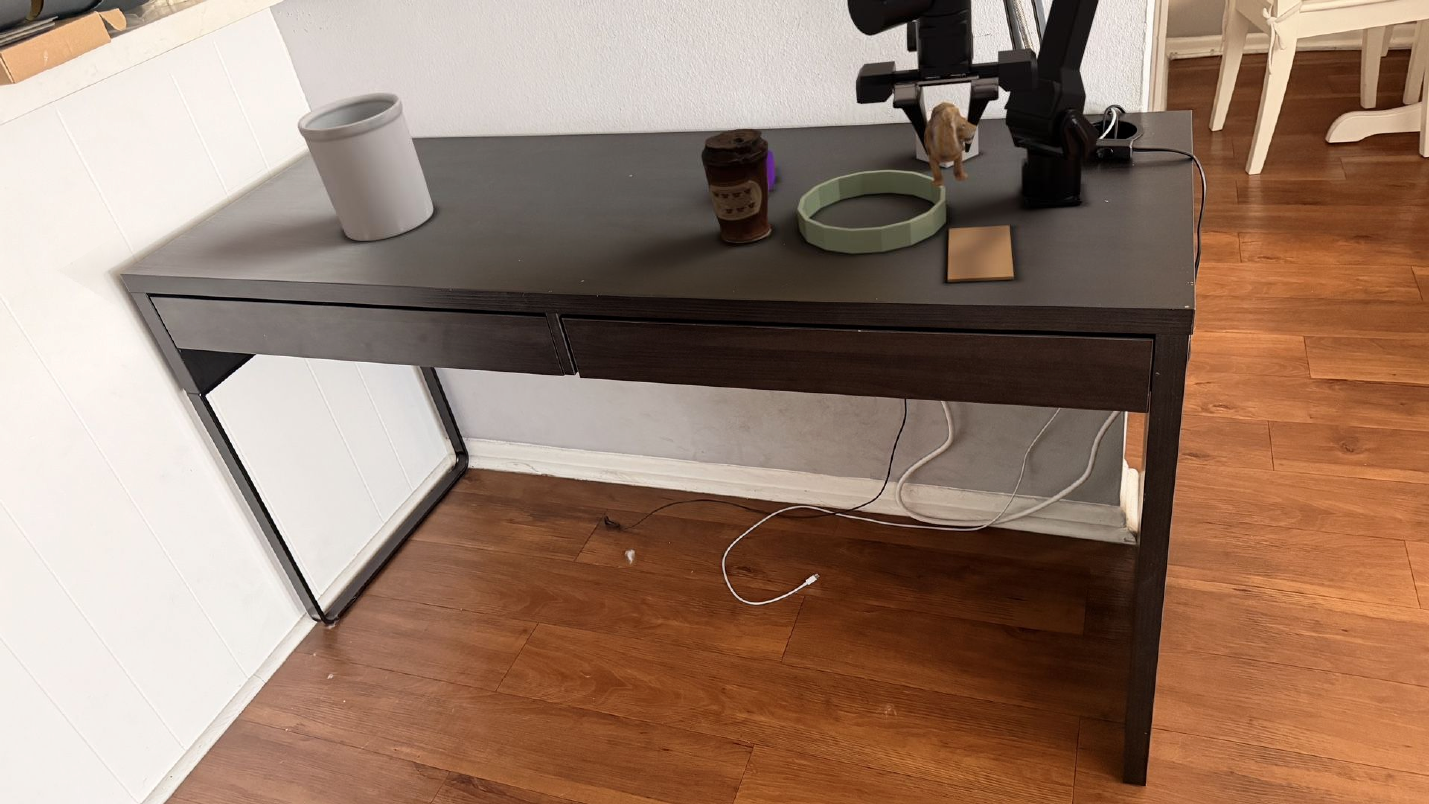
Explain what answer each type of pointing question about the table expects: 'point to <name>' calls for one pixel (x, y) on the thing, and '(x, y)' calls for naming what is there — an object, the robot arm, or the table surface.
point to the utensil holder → (368, 165)
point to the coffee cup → (738, 183)
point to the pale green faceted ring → (877, 236)
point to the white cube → (974, 146)
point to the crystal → (770, 169)
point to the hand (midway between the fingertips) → (948, 152)
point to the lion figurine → (947, 140)
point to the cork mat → (980, 254)
